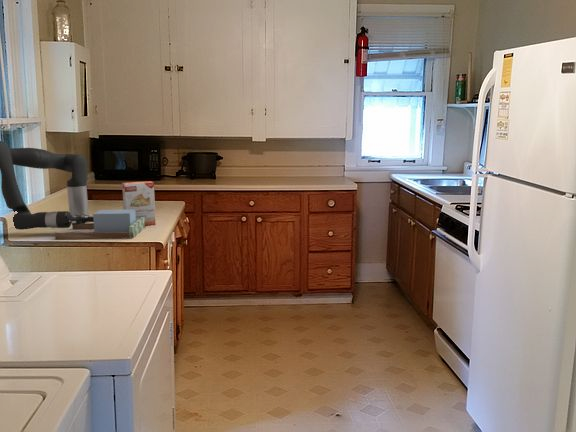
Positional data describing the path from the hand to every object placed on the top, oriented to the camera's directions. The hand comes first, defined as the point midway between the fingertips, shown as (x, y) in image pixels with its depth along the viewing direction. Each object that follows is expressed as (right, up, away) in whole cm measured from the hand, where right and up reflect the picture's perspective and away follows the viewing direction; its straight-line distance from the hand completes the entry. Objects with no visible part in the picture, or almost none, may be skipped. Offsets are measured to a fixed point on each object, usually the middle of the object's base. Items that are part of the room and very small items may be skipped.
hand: (97, 219), depth 250 cm
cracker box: (+15, -3, +18) cm, 24 cm away
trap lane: (+2, -6, +1) cm, 7 cm away
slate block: (+8, -6, +2) cm, 10 cm away
